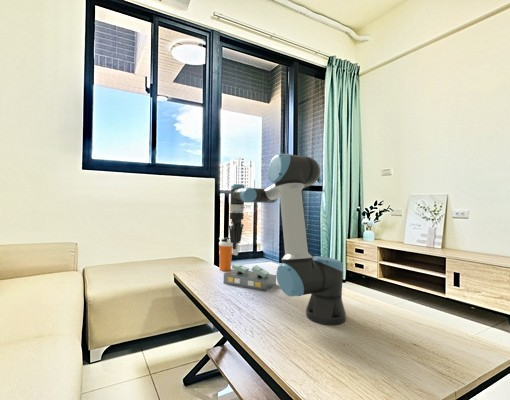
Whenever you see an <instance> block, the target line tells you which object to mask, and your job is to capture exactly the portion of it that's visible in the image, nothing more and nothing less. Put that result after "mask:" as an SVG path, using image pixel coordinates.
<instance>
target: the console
mask: <svg viewBox="0 0 510 400" xmlns="http://www.w3.org/2000/svg"><path fill="white" fill-rule="evenodd" d="M223 284H227V285H233V286H236V287H243V288H248V289H252V290H257V291H263V292H267V291H268V290H270V289H271V288H273V287H275V286H276V284H277V276H276V274H272V273H269V274H268V276H267V277H265V278H264V277H262V276H260V275H259V274H257V273H255V272H254V271H252V270H249V271H248V272H246V273H242V272H240V271H237V270H235V269H231V270H229V271H226V272H225V273H223Z"/></svg>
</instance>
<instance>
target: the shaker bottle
mask: <svg viewBox="0 0 510 400" xmlns="http://www.w3.org/2000/svg"><path fill="white" fill-rule="evenodd" d="M218 246H219V247H218V248H219V249H218V250H219V251H218V252H219V254H218V256H219V270H220V271H222V272H229V271H232V259H233V257H232V256H233V255H232V251H233V243H231V242H230V237H223V238H221V240H220V241H219V242H218Z"/></svg>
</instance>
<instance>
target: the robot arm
mask: <svg viewBox="0 0 510 400" xmlns="http://www.w3.org/2000/svg"><path fill="white" fill-rule="evenodd" d="M267 170H268V171H267V177H268V180H269V181H270V182H271V183H272V184H271V185H270V186H267V187H266V188H258V187H256V188H255V187H249V186H247V187H246V186H245V185H244V184H243V183H241V184H239V183H237V184H236V183H232V184H231V186H230V208H229V212H230V213H229V219H230V220H231V221H230V225H228V229H229V238H230V239H229V240H230V242H231V243H233V246H232V256H233V255H234V256H238V255H239V244H241V241H242V234H243V230H244V229H243V228H244V227H245V226H244V224H243V223H242V220H244V211H245V210H244V209H245V206H244V205H245V203H259V204H260V203H264V204H275V203H277V201H278V200H279V201H280V213H281V222H282V225H281V226H282V232H283V233H282V234H283V245H284V246H283V247H284V255H283V257H282V258H281V264H279V265H278V267H277V268H276V272H275V273H276V274H275V275H276V282H277V284H278V287H279V288H280V290H281V291H282V292H283V294H285V295H286V296H288V297H302V296H306V295H310V297H309V300H308V303H307V305H306V308H305V309H306V310H305V315H306V317H307V318H308V319H309V320H310V321H313V322H315V323H317V324H321V325H327V326H329V325H330V326H331V325H332V326H334V325H335V326H337V325H341V324H344V323H345V322H346V321H347V319H346V318H347V313H346V309H345V306H344V303H343V299H342V295H343V276H344V275H343V273H344V269H343V263H342V261H340V259H336V258H331V257H327V256H320V255H315V256H314V255H313V256H312V255H311V254H310V253H309V251H308V249H309V247H308V241H307V231H306V230H307V229H306V223H305V213H304V212H305V211H304V203H303V196H302V190H303V189H305V188H306V189H307V188H308V187H310V186H312V185H314V184H315V183H316V182H317V181H319V178H320V176H321V167H320V164H319V163H318V162H317V161H316V160H315V159H314V158H313V157H310V156H303V155H296V154H289V153H277V154H276V155H275V156H273V158H271V160H270V163H269V165H268V169H267Z"/></svg>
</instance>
